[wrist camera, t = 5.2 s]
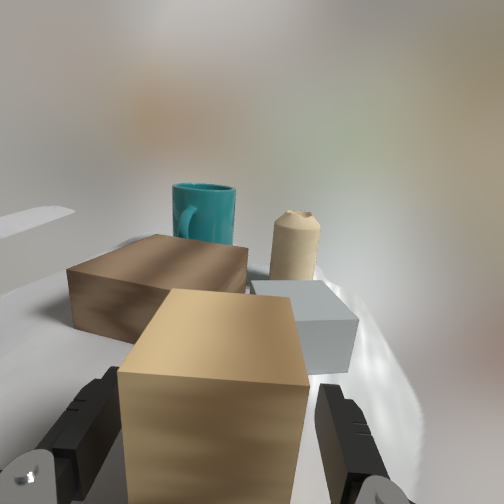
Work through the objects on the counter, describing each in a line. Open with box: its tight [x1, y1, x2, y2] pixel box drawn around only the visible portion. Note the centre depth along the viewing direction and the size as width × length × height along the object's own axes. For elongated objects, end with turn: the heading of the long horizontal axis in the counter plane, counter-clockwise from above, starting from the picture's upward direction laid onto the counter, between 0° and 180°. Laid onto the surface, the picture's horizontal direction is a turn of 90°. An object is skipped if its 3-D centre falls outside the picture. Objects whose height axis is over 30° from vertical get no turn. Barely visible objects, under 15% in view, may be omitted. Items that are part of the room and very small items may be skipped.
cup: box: [172, 183, 236, 246], centre depth 41 cm, size 9×12×11 cm
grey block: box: [250, 280, 359, 375], centre depth 24 cm, size 7×7×5 cm
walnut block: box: [66, 234, 248, 344], centre depth 29 cm, size 12×13×6 cm
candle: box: [269, 210, 321, 280], centre depth 35 cm, size 6×6×10 cm
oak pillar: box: [117, 288, 310, 504], centre depth 11 cm, size 5×5×10 cm
